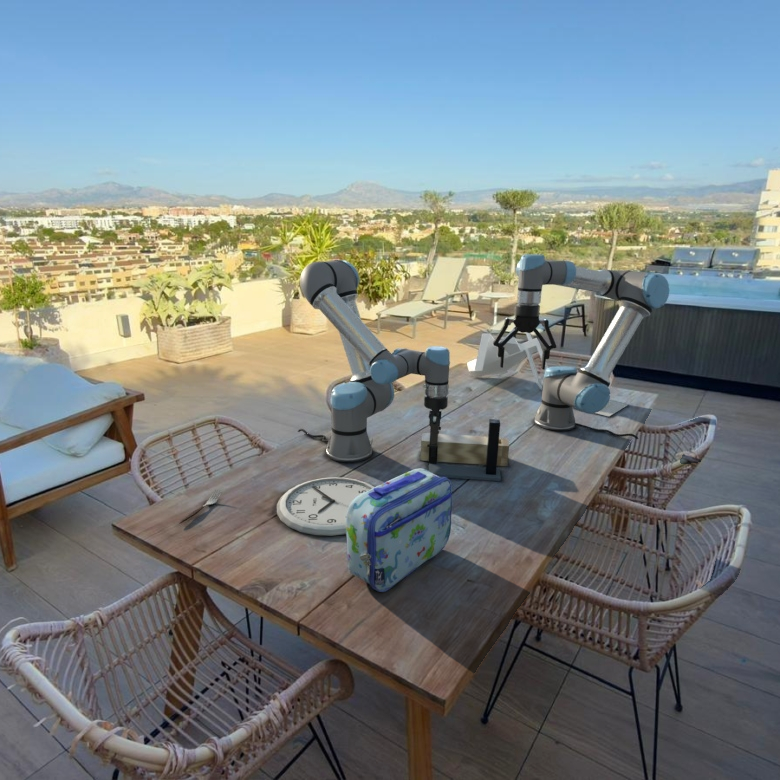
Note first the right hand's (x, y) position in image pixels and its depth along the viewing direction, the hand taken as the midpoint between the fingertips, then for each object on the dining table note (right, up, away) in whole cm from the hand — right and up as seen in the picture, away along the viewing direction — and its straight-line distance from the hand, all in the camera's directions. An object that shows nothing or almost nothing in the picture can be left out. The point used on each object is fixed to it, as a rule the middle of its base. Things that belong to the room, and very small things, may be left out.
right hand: (522, 367), depth 175 cm
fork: (-95, -40, -36) cm, 109 cm away
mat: (-21, -34, -12) cm, 42 cm away
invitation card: (+47, -15, +51) cm, 71 cm away
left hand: (-30, -30, -1) cm, 42 cm away
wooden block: (-20, -30, -2) cm, 36 cm away
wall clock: (-60, -39, -32) cm, 78 cm away
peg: (-13, -33, -13) cm, 38 cm away
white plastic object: (+13, -4, +83) cm, 84 cm away
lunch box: (-42, -47, -57) cm, 85 cm away
